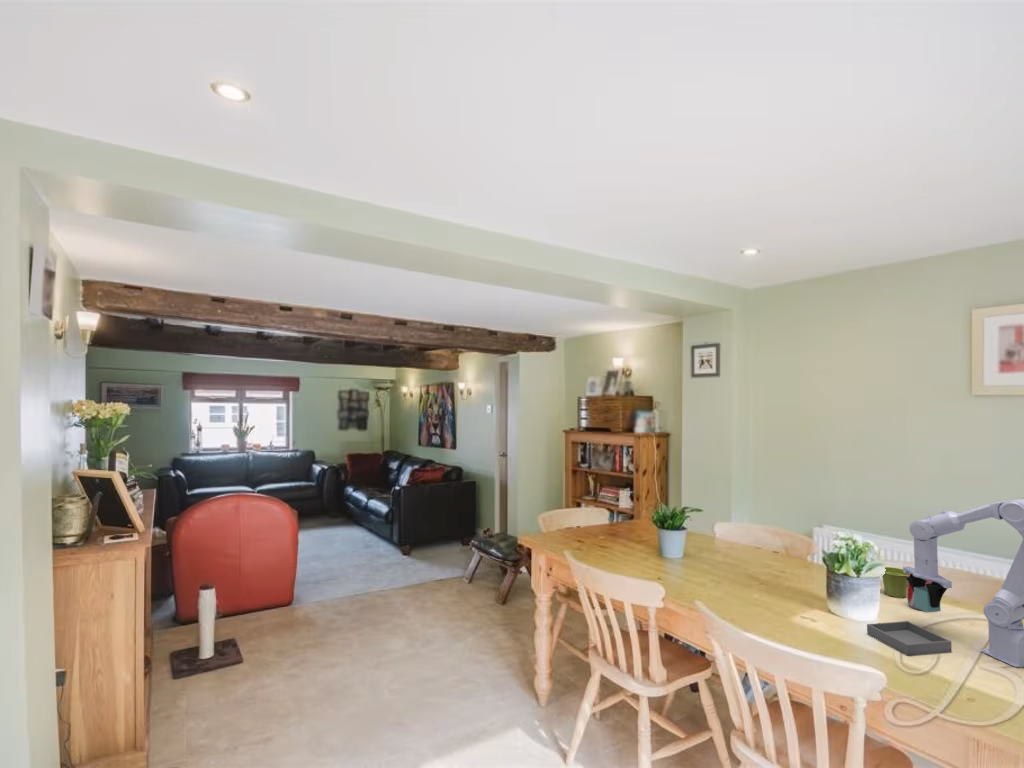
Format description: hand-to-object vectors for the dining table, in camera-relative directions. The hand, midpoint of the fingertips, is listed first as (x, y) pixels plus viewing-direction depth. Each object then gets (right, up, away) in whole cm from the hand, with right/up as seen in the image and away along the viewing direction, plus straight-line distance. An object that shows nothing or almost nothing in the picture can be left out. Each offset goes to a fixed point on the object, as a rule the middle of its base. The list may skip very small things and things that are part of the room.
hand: (927, 604), depth 165 cm
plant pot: (+12, -9, +30) cm, 33 cm away
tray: (-12, -8, -8) cm, 16 cm away
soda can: (+11, -9, +18) cm, 23 cm away
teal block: (0, -2, 0) cm, 2 cm away
